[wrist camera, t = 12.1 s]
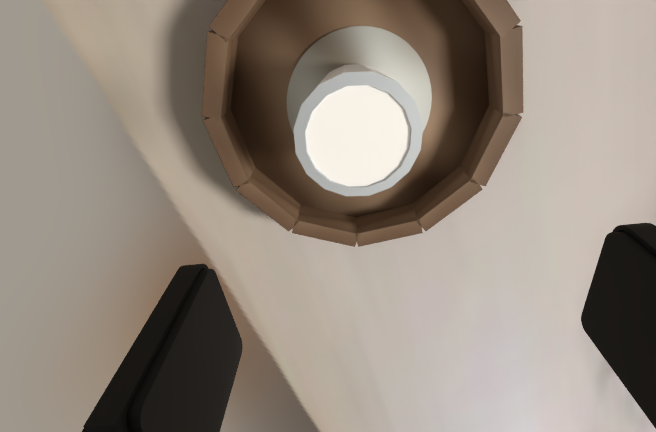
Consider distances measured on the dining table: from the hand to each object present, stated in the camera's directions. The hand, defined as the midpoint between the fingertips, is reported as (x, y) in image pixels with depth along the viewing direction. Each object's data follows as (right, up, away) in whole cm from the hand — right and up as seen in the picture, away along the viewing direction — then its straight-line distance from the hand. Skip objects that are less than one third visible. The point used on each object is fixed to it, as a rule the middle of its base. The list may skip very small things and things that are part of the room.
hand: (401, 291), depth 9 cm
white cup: (0, +10, +16) cm, 19 cm away
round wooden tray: (0, +10, +17) cm, 20 cm away
